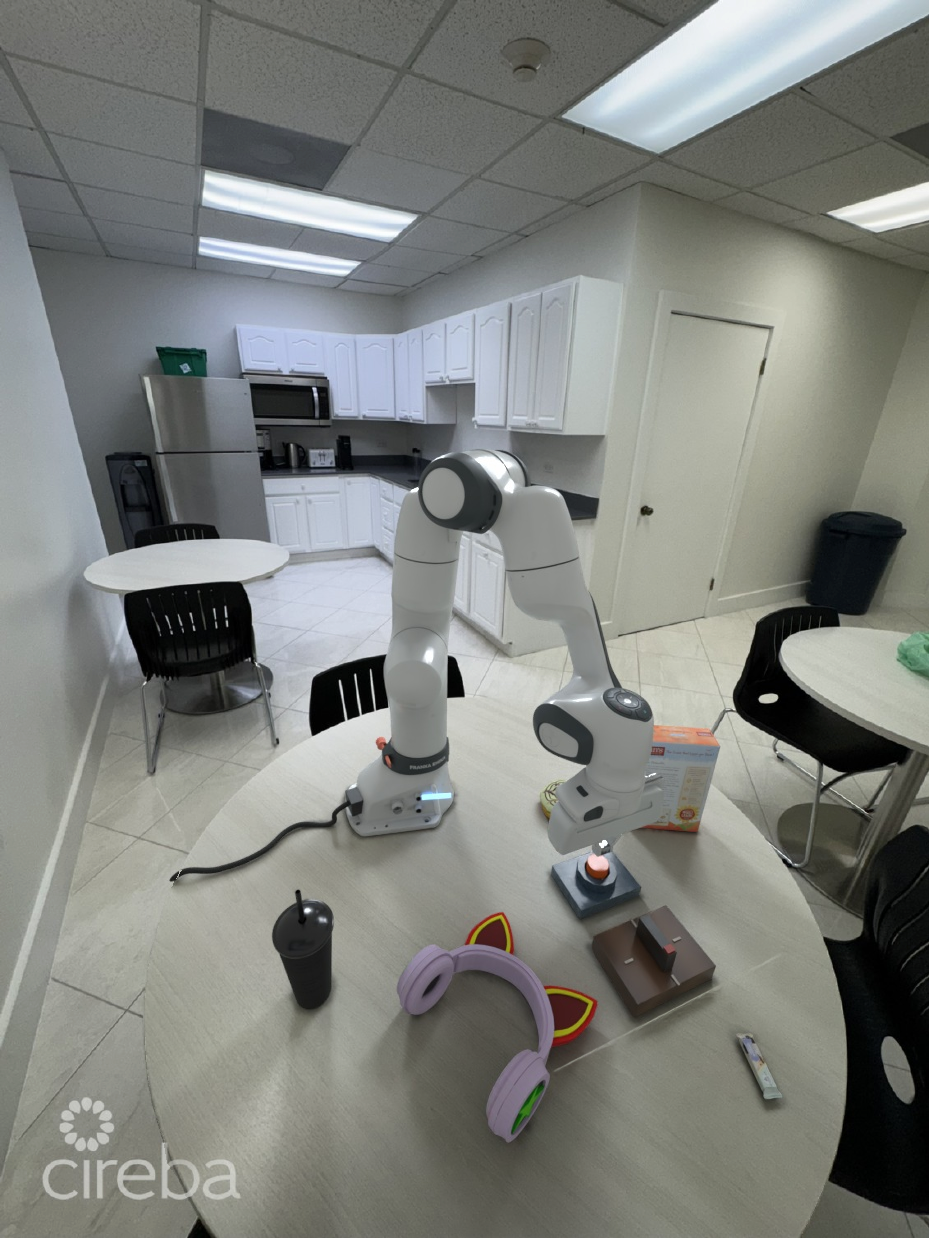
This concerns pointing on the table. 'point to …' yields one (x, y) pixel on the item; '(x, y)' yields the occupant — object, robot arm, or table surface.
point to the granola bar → (759, 1066)
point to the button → (597, 866)
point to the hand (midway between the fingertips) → (601, 851)
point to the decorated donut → (549, 796)
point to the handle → (656, 943)
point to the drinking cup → (306, 949)
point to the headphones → (552, 1006)
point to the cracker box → (682, 774)
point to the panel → (651, 962)
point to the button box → (594, 885)
